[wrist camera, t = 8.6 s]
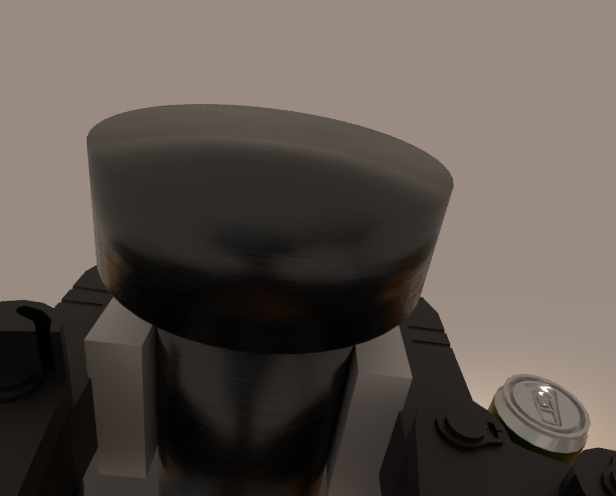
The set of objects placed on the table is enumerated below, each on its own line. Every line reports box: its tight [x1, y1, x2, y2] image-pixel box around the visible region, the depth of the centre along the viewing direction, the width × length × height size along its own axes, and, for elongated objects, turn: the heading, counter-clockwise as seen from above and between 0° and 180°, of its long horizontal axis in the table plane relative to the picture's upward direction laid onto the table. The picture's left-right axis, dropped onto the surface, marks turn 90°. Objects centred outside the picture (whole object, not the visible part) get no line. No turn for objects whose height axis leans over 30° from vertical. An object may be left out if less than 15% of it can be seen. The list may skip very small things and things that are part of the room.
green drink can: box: [488, 374, 590, 466], centre depth 31 cm, size 5×5×12 cm
